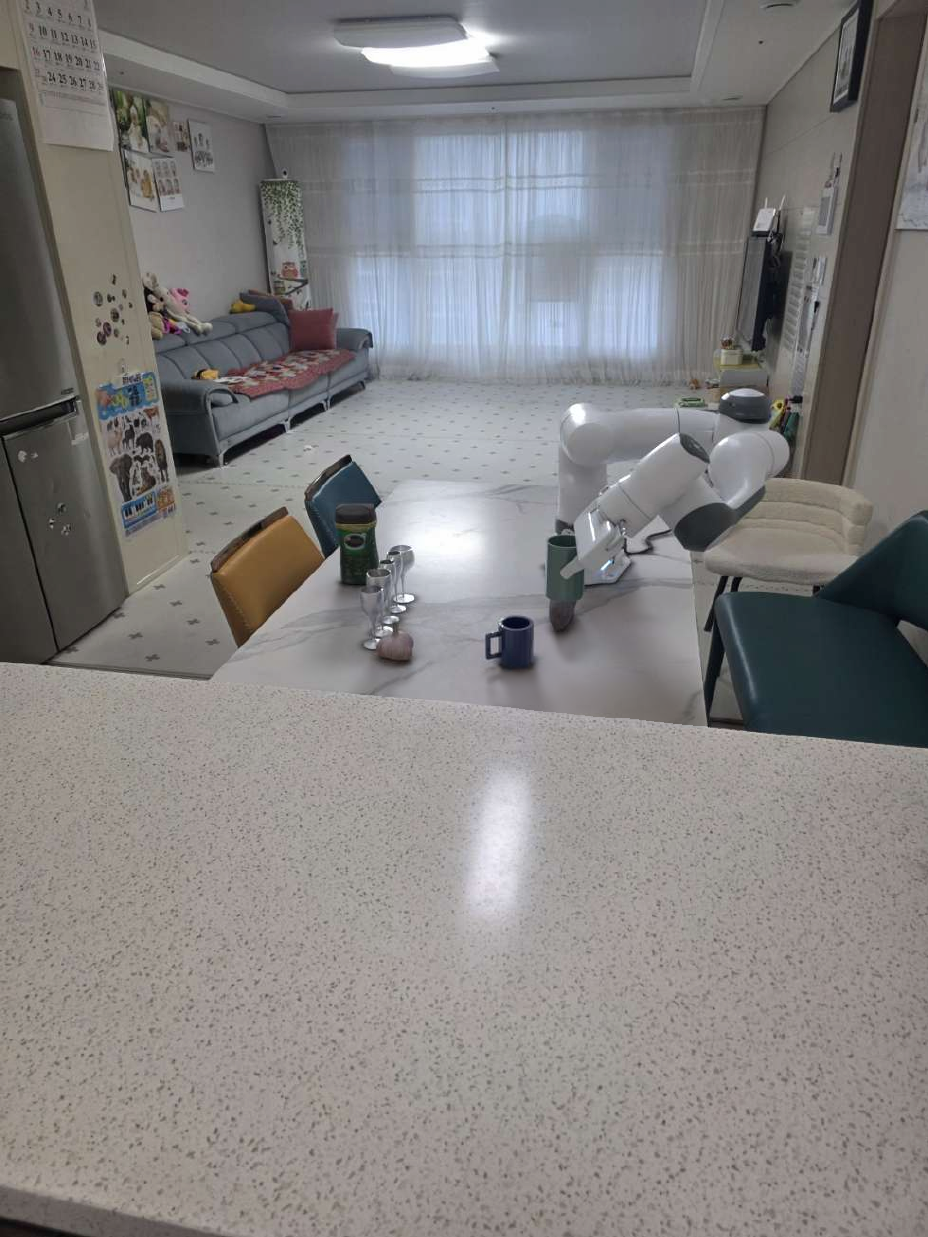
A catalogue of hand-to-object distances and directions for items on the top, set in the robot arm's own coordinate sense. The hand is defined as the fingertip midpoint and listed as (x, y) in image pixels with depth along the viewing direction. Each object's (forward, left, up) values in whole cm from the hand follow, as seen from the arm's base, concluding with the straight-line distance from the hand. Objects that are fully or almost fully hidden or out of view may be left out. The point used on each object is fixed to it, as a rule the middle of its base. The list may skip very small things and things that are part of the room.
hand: (561, 565), depth 143 cm
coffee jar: (-13, -62, -22) cm, 67 cm away
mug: (+2, -10, -21) cm, 24 cm away
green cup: (0, +1, -5) cm, 5 cm away
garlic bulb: (+12, -29, -22) cm, 38 cm away
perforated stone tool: (-20, -11, -22) cm, 31 cm away
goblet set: (0, -41, -22) cm, 47 cm away
